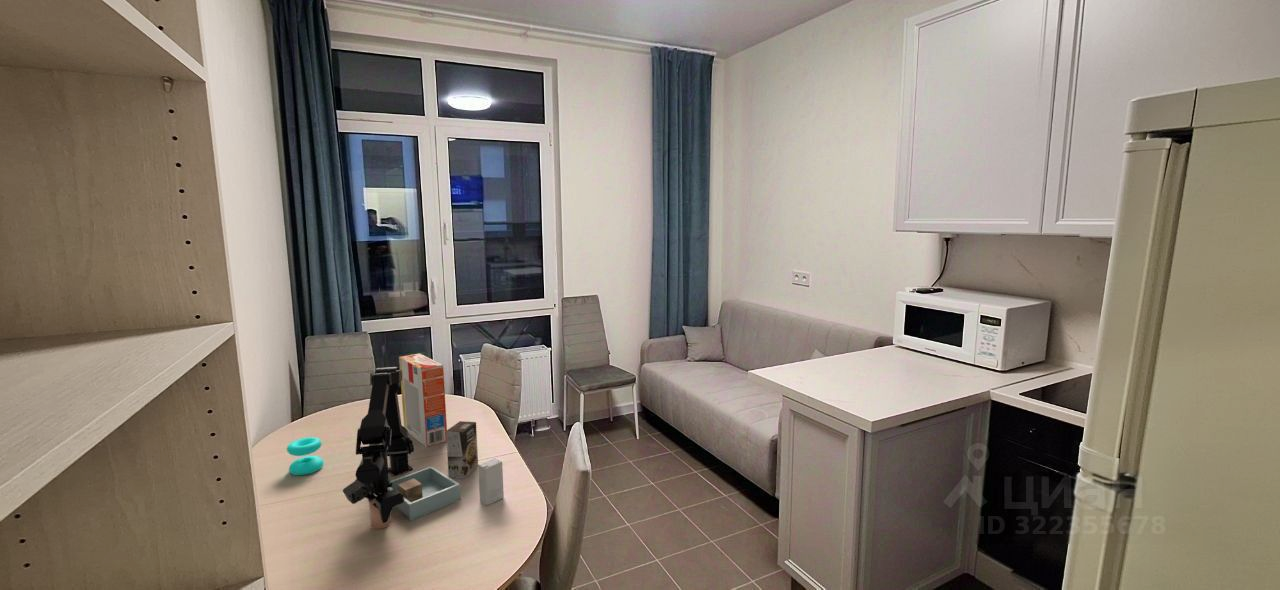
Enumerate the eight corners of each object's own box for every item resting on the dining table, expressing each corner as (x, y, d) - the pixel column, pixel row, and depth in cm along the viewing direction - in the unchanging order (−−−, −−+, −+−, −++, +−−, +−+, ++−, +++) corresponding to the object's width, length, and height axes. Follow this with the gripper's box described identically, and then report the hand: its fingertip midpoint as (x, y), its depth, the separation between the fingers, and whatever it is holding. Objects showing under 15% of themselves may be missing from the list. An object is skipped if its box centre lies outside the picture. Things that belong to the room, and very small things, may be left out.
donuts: (282, 442, 183) (315, 433, 190) (285, 470, 185) (318, 460, 192) (291, 451, 176) (325, 441, 184) (294, 479, 178) (327, 469, 185)
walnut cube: (414, 493, 167) (413, 478, 167) (422, 499, 164) (421, 483, 163) (398, 500, 164) (397, 484, 163) (406, 505, 161) (405, 490, 160)
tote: (383, 499, 166) (382, 484, 165) (432, 480, 177) (431, 466, 176) (410, 521, 154) (409, 504, 153) (460, 499, 166) (459, 484, 165)
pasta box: (447, 440, 208) (443, 364, 204) (426, 447, 203) (421, 369, 198) (424, 423, 225) (419, 353, 220) (404, 429, 219) (399, 356, 215)
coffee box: (465, 478, 178) (463, 432, 176) (447, 477, 180) (445, 430, 177) (479, 466, 187) (476, 421, 185) (462, 464, 189) (459, 420, 186)
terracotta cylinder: (368, 523, 153) (366, 500, 152) (387, 516, 156) (385, 494, 155) (374, 531, 149) (372, 507, 148) (393, 524, 153) (391, 500, 152)
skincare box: (495, 493, 169) (494, 456, 167) (504, 498, 166) (503, 461, 164) (478, 501, 164) (476, 463, 163) (487, 506, 162) (485, 468, 160)
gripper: (332, 466, 150) (337, 518, 153) (359, 488, 138) (364, 545, 140) (373, 452, 159) (377, 502, 161) (402, 473, 146) (406, 526, 149)
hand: (380, 518), depth 152 cm, fingers closed on terracotta cylinder, 5 cm apart
